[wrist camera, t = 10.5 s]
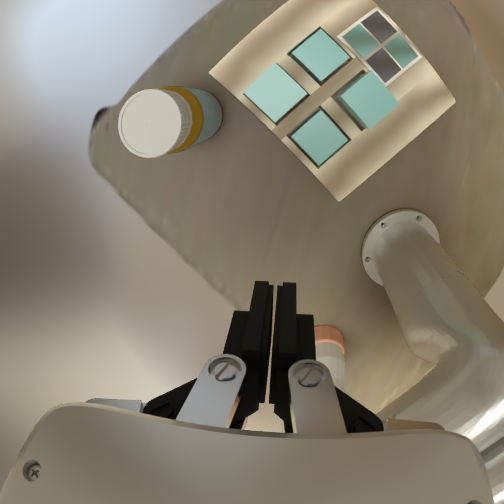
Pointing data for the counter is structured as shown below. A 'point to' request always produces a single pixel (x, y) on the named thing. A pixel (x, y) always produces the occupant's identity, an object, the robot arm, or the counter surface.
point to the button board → (340, 83)
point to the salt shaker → (331, 352)
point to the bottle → (168, 120)
